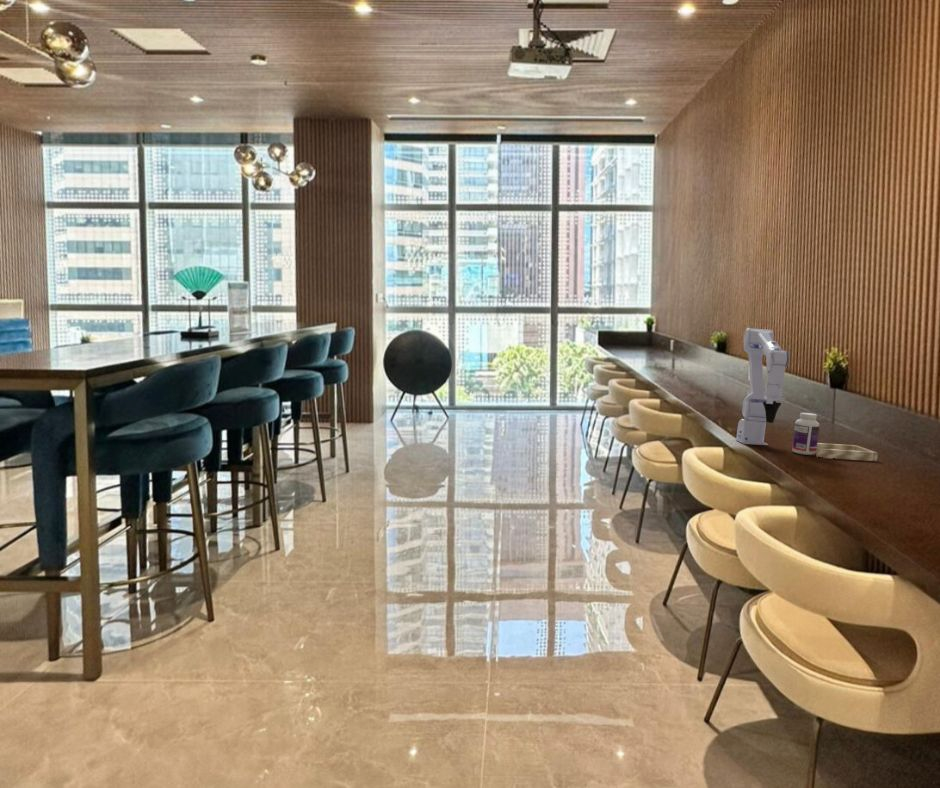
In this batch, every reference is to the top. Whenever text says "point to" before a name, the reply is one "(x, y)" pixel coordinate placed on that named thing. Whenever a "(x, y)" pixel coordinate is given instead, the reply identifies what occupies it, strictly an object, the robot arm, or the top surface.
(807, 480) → the top surface
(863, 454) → the cradle
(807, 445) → the pill bottle
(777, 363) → the robot arm
